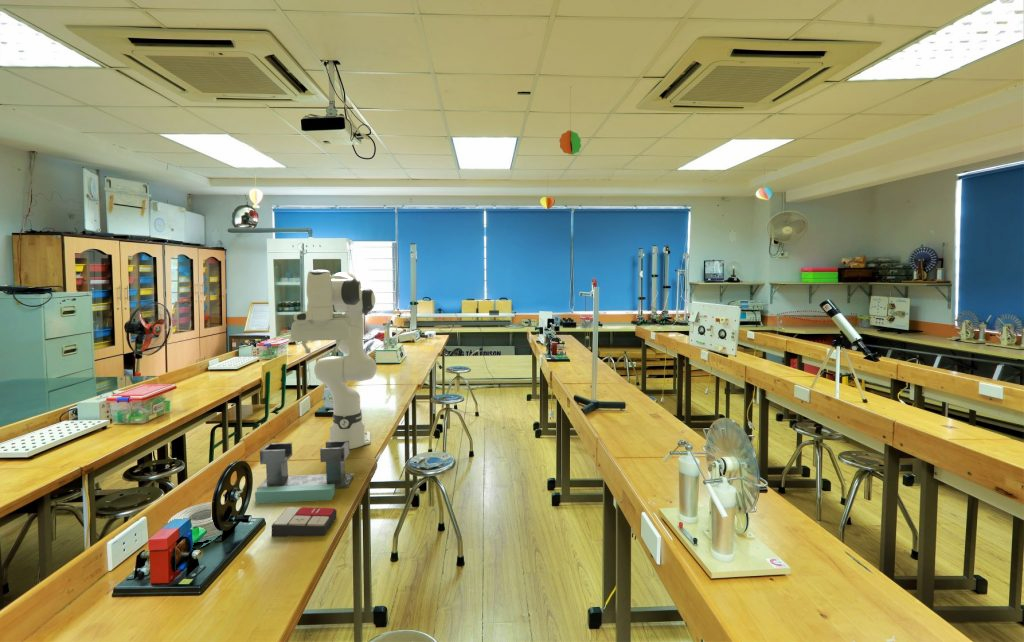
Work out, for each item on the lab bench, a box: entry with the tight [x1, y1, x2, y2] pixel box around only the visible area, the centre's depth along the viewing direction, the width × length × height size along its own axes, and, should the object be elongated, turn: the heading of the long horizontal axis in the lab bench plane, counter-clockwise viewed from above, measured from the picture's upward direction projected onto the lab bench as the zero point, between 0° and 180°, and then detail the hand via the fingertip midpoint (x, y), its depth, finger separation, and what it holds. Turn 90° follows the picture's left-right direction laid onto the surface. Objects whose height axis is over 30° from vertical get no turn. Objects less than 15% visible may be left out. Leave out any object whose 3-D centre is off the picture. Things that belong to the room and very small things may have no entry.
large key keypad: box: [271, 506, 338, 538], centre depth 145 cm, size 11×4×15 cm
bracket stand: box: [256, 440, 355, 491], centre depth 175 cm, size 10×30×14 cm, turn 96°
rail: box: [254, 484, 336, 504], centre depth 163 cm, size 4×24×4 cm, turn 95°
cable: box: [167, 501, 219, 538], centre depth 142 cm, size 18×18×6 cm
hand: (321, 352), depth 180 cm, fingers open, 8 cm apart
